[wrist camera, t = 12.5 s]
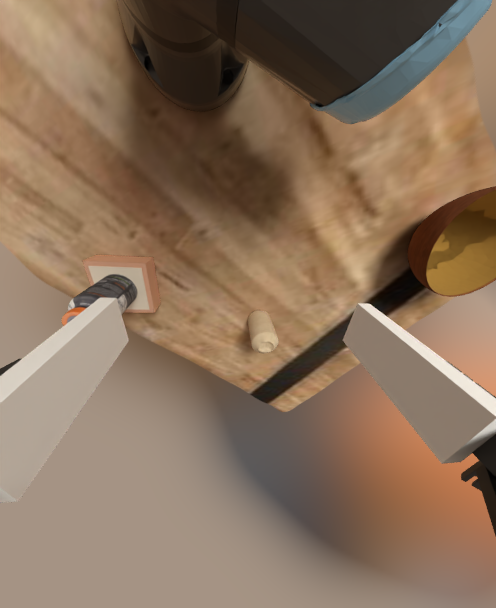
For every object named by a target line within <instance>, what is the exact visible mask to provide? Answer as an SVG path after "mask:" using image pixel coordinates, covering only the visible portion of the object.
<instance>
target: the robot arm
mask: <svg viewBox="0 0 496 608" xmlns="http://www.w3.org/2000/svg"><path fill="white" fill-rule="evenodd" d="M491 3H492V0H117V4H118V9H119V13H120V17H121V21H122V24H123V27H124V30H125V33H126V36H127V38H128V41H129V43H130V45H131V48H132V50H133V52H134V54H135V56H136V58H137V60H138V61H139V63H140V65H141V66H142V68H143V69H144V71H145V72H146V74H147V75H148V77H149V78H150V80H151V81H152V82H153V84H154V85H155V86H156V87H157V89H158V90H159V91H160V92H161V93H162V94H163V95H164V96H166V97H167V98H168V99H169V100H171V101H172V102H174V103H175V104H177V105H179V106H181V107H183V108H186V109H189V110H193V111H207V110H211V109H214V108H217V107H219V106H220V105H222V104H223V103H225V102H226V101H227V100H228V99H229V98H230V97H231V96H232V95H233V94H234V93H235V91H236V90H237V88H238V87H239V85H240V83H241V81H242V79H243V77H244V75H245V72H246V69H247V66H248V62H249V60H250V61H252V62H253V63H254V64H256V65H257V66H259V67H260V68H262V69H263V70H264V71H266V72H267V73H269V74H270V75H271V76H273V77H274V78H276V79H277V80H279V81H280V82H281V83H283V84H284V85H286V86H287V87H288V88H290V89H291V90H293V91H294V92H295V93H297V94H298V95H300V96H301V97H303V98H304V99H305V100H307V101H308V102H310V106H311V107H312V108H314V109H315V110H318V111H325V112H326V113H328V114H330V115H331V116H333V117H335V118H336V119H338V120H340V121H341V122H343V123H347V124H354V123H357V122H361V121H366V120H369V119H371V118H373V117H375V116H377V115H379V114H380V113H382V112H384V111H385V110H387V109H388V108H390V107H391V106H392V105H394V104H395V103H397V102H398V101H399V100H400V99H402V98H403V97H404V96H405V95H407V94H408V93H409V92H410V91H411V90H412V89H414V88H415V87H416V86H417V85H418V84H419V83H420V82H421V81H422V80H424V79H425V78H426V77H427V76H428V75H429V74H430V73H431V72H432V71H433V70H434V69H435V68H436V67H437V66H438V65H439V64H440V63H441V62H442V61H443V60H444V59H445V58H446V57H447V56H448V55H449V54H450V53H451V52H452V51H453V50H454V49H455V48H456V47H457V46H458V44H459V43H460V42H461V41H462V40H463V39H464V38H465V37H466V35H467V34H468V33H469V32H470V31H471V30H472V28H473V27H474V26H475V25H476V24H477V22H478V21H479V20H480V19H481V18H482V17H483V15H484V14H485V13H486V12H487V11H488V9H489V8H490V6H491ZM128 341H129V339H128V336H127V332H126V329H125V325H124V322H123V318H122V315H121V311H120V308H119V304H118V301H117V298H99V299H98V300H96V301H95V302H94V303H93V304H91V305H90V306H89V307H88V308H86V309H85V310H84V311H82V312H81V313H80V314H79V315H77V316H76V317H75V318H74V319H72V320H71V321H70V322H68V323H67V324H66V325H65V326H63V327H62V328H61V329H60V330H58V331H57V332H56V333H54V334H53V335H52V336H51V337H49V338H48V339H47V340H46V341H44V342H43V343H42V344H40V345H39V346H38V347H37V348H35V349H34V350H33V351H32V352H30V353H29V354H28V355H26V356H25V357H24V358H23V359H18V360H16V361H14V362H12V363H10V364H8V365H6V366H5V367H3V368H1V369H0V503H3V502H15V501H19V500H20V498H21V497H22V495H23V494H24V492H25V491H26V489H27V488H28V486H29V485H30V484H31V482H32V481H33V479H34V478H35V476H36V475H37V473H38V472H39V470H40V469H41V468H42V466H43V465H44V463H45V462H46V460H47V459H48V457H49V456H50V454H51V453H52V452H53V450H54V449H55V447H56V446H57V444H58V443H59V441H60V440H61V439H62V437H63V436H64V434H65V433H66V431H67V430H68V428H69V427H70V426H71V424H72V423H73V421H74V420H75V418H76V417H77V415H78V414H79V412H80V411H81V409H82V408H83V406H84V405H85V404H86V402H87V401H88V399H89V398H90V397H91V395H92V394H93V392H94V391H95V389H96V388H97V386H98V385H99V383H100V382H101V380H102V379H103V378H104V376H105V374H106V373H107V372H108V370H109V369H110V367H111V366H112V365H113V363H114V362H115V360H116V359H117V357H118V356H119V354H120V353H121V352H122V350H123V349H124V347H125V346H126V344H127V343H128ZM343 341H344V342H345V344H346V345H347V346H348V347H349V349H350V350H351V351H352V352H353V354H354V355H355V356H356V357H357V359H358V360H359V361H360V362H361V364H362V365H363V366H364V367H365V368H366V370H367V371H368V372H369V374H371V376H372V377H373V379H374V380H375V381H376V382H377V383H378V385H379V386H380V387H381V388H382V390H383V391H384V392H385V393H386V395H387V396H388V397H389V398H390V400H391V401H392V402H393V403H394V405H395V406H396V407H397V408H398V410H399V411H400V412H401V413H402V415H403V416H404V417H405V418H406V420H407V421H408V422H409V423H410V425H411V426H412V427H413V428H414V430H415V431H416V432H417V433H418V434H419V436H420V437H421V438H422V439H423V441H424V442H425V443H426V444H427V446H428V447H429V448H430V449H431V451H432V452H433V453H434V454H435V456H436V457H437V458H438V459H439V461H440V462H441V463H454V462H461V461H462V460H464V459H465V458H466V457H468V456H469V455H470V454H472V453H473V454H474V455H475V456H476V457H477V458H478V459H479V460H480V461H478V462H477V463H475V464H474V465H473V466H471V467H470V468H468V469H467V470H466V471H464V472H463V473H462V474H461V479H462V480H463V481H465V482H466V481H468V480H469V479H471V478H472V477H473V476H477V477H478V479H477V480H475V481H474V482H473V483H472V486H474V487H475V488H477V489H479V490H481V491H482V493H483V497H484V500H485V503H486V506H487V509H488V513H489V516H490V519H491V522H492V526H493V529H494V532H495V535H496V397H495V396H493V395H492V394H490V393H489V392H488V391H487V390H485V389H484V388H483V387H481V386H480V385H479V384H477V383H475V382H473V380H472V379H470V378H469V377H468V376H466V375H465V374H463V373H461V371H460V370H459V369H457V368H456V367H454V366H453V365H452V364H450V363H449V362H447V361H445V360H444V359H443V358H441V357H440V356H439V355H437V354H436V353H434V352H433V351H432V350H431V349H429V348H428V347H427V346H425V345H424V344H422V343H421V342H420V341H419V340H417V339H416V338H415V337H413V336H412V335H411V334H409V333H408V332H406V331H405V330H404V329H403V328H401V327H400V326H399V325H397V324H396V323H395V322H393V321H392V320H391V319H389V318H388V317H387V316H385V315H384V314H383V313H381V312H380V311H379V310H377V309H376V308H375V307H373V306H372V305H371V304H357V306H356V309H355V311H354V314H353V316H352V319H351V321H350V324H349V326H348V329H347V331H346V334H345V336H344V339H343Z"/></svg>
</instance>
